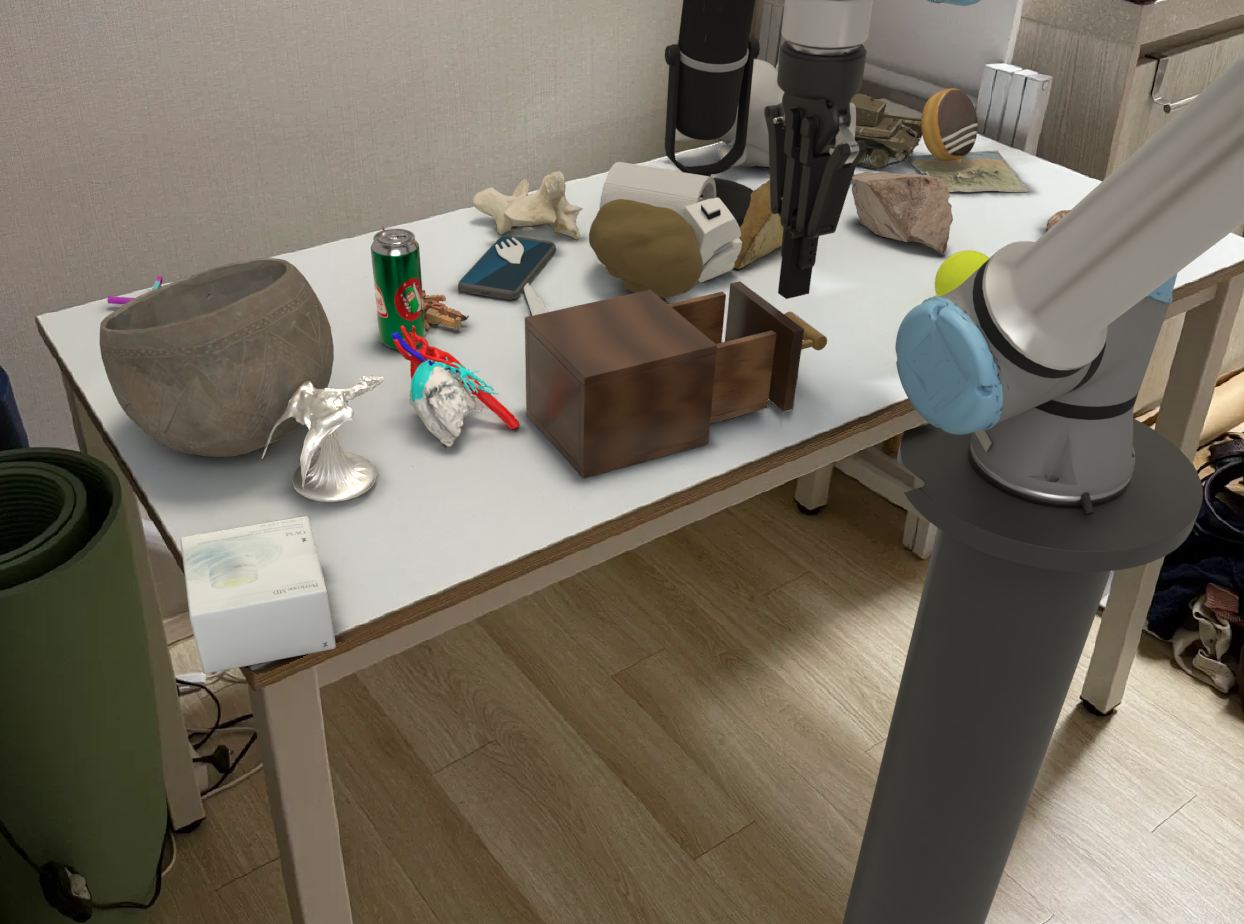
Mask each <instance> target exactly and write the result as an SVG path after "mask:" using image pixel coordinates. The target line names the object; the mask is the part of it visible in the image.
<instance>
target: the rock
mask: <svg viewBox="0 0 1244 924" xmlns="http://www.w3.org/2000/svg"><path fill="white" fill-rule="evenodd" d="M781 200H783V197H781ZM780 218H781V217H780V216H779V215H778V214H773V213H772V211H771V204H770V179H768V180H767V181H766V182H765V183H762V184H761V185H760V186H758V187H757V189H754V190H753V192H752V194H751V201H750V206H749V208H748V210H747V213H746V216H745V218H744V222H743V224H742V226H741V227H740V231H741V236H740V237H739V239H740V240H741V241H742V247H741V251H740V253H739V255H738V256H737V259H736V261H735V265H734V267H733V269H736V270H740V269H742V268H744V267H746V266H748V265H749V264H752V263H753V262H755V261H756V260H758V259H760V258H763V257H765V256H767V255H768V254H770V253H772V252H774V250H777V249H780V248H781V245H782V236H783V226H782V225H781V222H780Z"/></svg>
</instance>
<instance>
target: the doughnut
mask: <svg viewBox="0 0 1244 924" xmlns="http://www.w3.org/2000/svg"><path fill="white" fill-rule="evenodd" d="M920 119H921V121H920V122H921V131H922V139H923V142H924V145H925V147H926V149H927V151H928V152H929V153H930V155H931V154H932V155H933V156H934V157H935V158H937V159H939V160H941V161H952V160H955V161H957V162H958V163H957V164H960V163H961V158H963V157H965V156H966V155H967V154H968V153H969V152H972V149H974V146H975V144H976V141H977V137H978V130H979V129H978V128H979V127H978V125H979V124H978V116H977V111H976V108H975V105H974V103H973V101H972V100H971V99H970V97H969V96H968V95H967V94H966V93H965V92H964V91H962V90H961V89H958V88H955V87H950V88H946V89H943V90H941V91H938V92H936V93H934V94H932V95H931V96H930V97H929V98H928V100H927V101H926V102H925V104H924V107H923V109H922V113H921V118H920Z"/></svg>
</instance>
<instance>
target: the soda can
mask: <svg viewBox="0 0 1244 924" xmlns="http://www.w3.org/2000/svg"><path fill="white" fill-rule="evenodd" d="M372 240H373V241H372V243H371V245H370V255H371V266H372V275H373V276H372V277H373V287H374V297H375V307H376V316H377V327H378V336H379V340H380V342H381V343H383V345H385V346H386V348H390V349H391V350H392V349H393V350H398V349H397V347H396V345H395V343H394V339H393V338H392V334H393V333H398V334H399V335H400V336H401V338H402V339H403V340H404V339H405V337H404V335H403V333H402V331H401V328H400V327H401V326H402V325H403V326H404V327H405V329H406V331H407V333H408V334H409V333H410V332H412V328H413V327H412V326H415V332H416V334H417V336H421V337H422V338H424V339H426V335H427V334H426V329H425V319H424V305H423V291H422V290H423V281H422V279H423V278H422V266H421V253H420V244H419V242H418V241H417V239H416V235H415V234H414V232H412V231H411V230H408V229H404V228H386V229H385V230H380V231H378V232H376V233H375V234H374V235H373V238H372ZM412 333H413V332H412ZM411 339H413V338H412V337H411ZM413 342H414V344H415V341H413ZM421 344H422V343H421V342H417V344H416V345H415V346H416V347H418V346H420V345H421ZM407 345H408V346H409V344H408V343H407ZM409 347H410V346H409Z"/></svg>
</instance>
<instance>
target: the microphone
mask: <svg viewBox="0 0 1244 924" xmlns="http://www.w3.org/2000/svg"><path fill="white" fill-rule="evenodd" d="M755 5H756V0H682V8H681V13H680V14H681V15H680V23H679V32H678V33H679V34H678V39H677V41H676V43H671V45H667V46H666V47H665V48H664V61H665V63H666V65H668V78H667V95H666V96H667V99H666V116H665V133H664V152H665V156H666V157H667V158H668V159H669V160H670V162H671V163H672V164H673V165H674V166H675V167H676V169H678V170H679V171H680V172H685V173H691V174H697V175H703V176H709V177H712V176H713V175H718V174H723V173H725V172H727V171H728V170H729V169H731V168H732V167H734V166H733V165H734V164H735V163H736V162H737V161H738V160H739V159H740V157H741V156H742V155H743V153H744V149H745V146H746V138H747V127H748V117H749V107H750V96H751V86H752V75H753V65H754V59H757V58H758V57H759V56H760V50H761V46H760V42H759V40H758V39H757V38H751V37H750V36H751V32H752V25H753V18H754V12H755ZM738 103H739V105H738ZM737 110H738V116H737ZM736 116H737V127H736V138H735V142H734V146H733V148H732V149H731V150H730V151H729V152H728V153H727V154H726V155H725V156H724V157H723V158H722V159H721V158H720V160H718V161H716V162H714V163H709V164H702V165H700V164H699V165H684V164H683V163H680V161H678V160H677V159H676V158H677V157H676V153H675V151H676V141H675V135H676V129H677V130H678V131H679V132H680V133H681V134H683V135H685V136H687V137H690V138H693V139H697V140H698V141H713V140H718V139H719V138H720V137H722V136H724V135H725V134H726V133H727V132H728V131H729V130H730V129H731V128H732V127H733V125H734V123H735V120H736ZM712 178H713V179H714V181H715V185H716V198H720V200H721V201H722V202H723V203H724V205H725V206H726V207H727V208H728V210H729V211H730V212H731V214H732V215H733V217H734V218H735V220H736V221H737V223H738V225H739V227H741V226H742V224H743V222H744V218H745V216H746V213H747V210H748V208H749V206H750V201H751V194H752V192H753V191H754V190H753V189H752V188H750V187H748V186H747V185H744V184H743V183H739V182H736V181H733V180H730V179H726V178H719V177H715V176H714V177H712ZM700 198H703V195H701V196H700Z"/></svg>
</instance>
